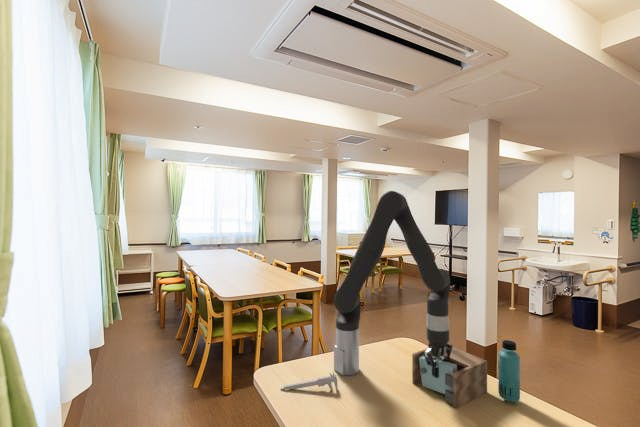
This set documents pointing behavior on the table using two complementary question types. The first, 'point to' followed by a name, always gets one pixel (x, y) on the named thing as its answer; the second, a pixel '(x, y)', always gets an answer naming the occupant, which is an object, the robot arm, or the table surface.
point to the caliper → (315, 383)
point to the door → (439, 382)
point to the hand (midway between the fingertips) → (438, 375)
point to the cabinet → (459, 376)
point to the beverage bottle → (509, 372)
